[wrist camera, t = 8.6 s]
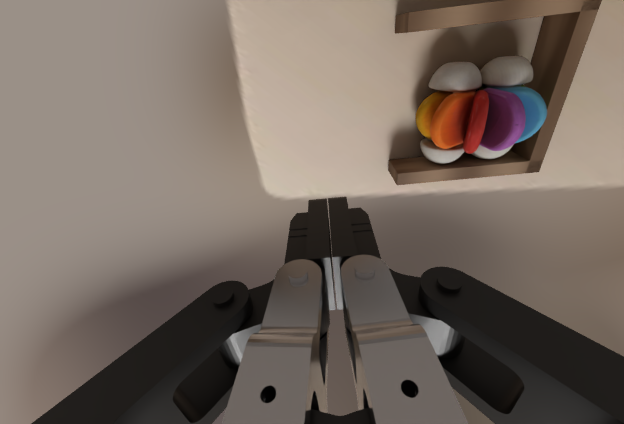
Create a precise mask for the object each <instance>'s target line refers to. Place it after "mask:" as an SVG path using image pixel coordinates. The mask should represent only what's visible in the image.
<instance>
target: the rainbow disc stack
mask: <svg viewBox="0 0 624 424" xmlns="http://www.w3.org/2000/svg"><path fill="white" fill-rule="evenodd" d="M532 79H533V68H532V66H531V64H530V62H529V61H528V60H527V59H526V58H524V57H522V56H503V57H497V58H494V59H493V60H491V61H490V62H488V63H487V64H486V65H485V66H484V67H483V68H482V69H481V70H480V71H479V69H478V68H477V67H476V66H475V65H474V64H473V63H471V62H450V63H446V64H444V65H442V66H441V67H440V68H439V69H438V70H437V71H436V72H435V73H434V74H433V76H432V78H431V80H430V82H429V87H430V88H432V89H435V90H441V91H436V92H434V93H433V94H431V95H430V96H428V97H427V98H426V99H425V100H424V101H423V102H422V103H421V104H420V106H419V108H418V110H417V112H416V124H417V127H418V129H419V131H420V132H421V133H422V134H423V135H424V136H425V137H426V138H424V139H422V141H421V143H420V146H421V150H422V153H423V155H424V156H425V157H426V158H427V159H428V160H430V161H432V162H434V163H440V164H445V163H450V162H452V161H454V160H456V159H458V158H459V157H460V156H461V155H462V154H463V153H464V151H465V152H466V153H469V154H472V155H473V156H475V157H478V158H481V159H494V158H498V157H500V156H502V155H504V154H505V153H507V152H508V151H509V150H510V149H511V148H512V146H513V145H514V144H515V143H518V142H521V141H523V140H525V139H527V138H529V137H531V136H532V135H533V134H535V133H536V132H537V131H538V130H539V129H540V127H541V126H542V125H543V123H544V121H545V119H546V116H547V108H546V104H545V102H544V100H543V98H542V97H541V95H540V94H539V93H537V92H536V91H535V90H533V89H531V88H528V87H525V86H524V85H523V84H526V83H529V82H531V81H532ZM481 85H483V86H481ZM478 88H480V89H479V90H478V91H476V90H477V89H478Z"/></svg>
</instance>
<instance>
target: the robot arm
mask: <svg viewBox="0 0 624 424" xmlns="http://www.w3.org/2000/svg"><path fill="white" fill-rule="evenodd" d="M328 203H329V216H330V229H331V240H330V229H329V218H328V208H327V199H316V200H309V206H308V212H307V213H297V214H296V215H295V216H294V217H293V219H292V220H291V222H290V229H289V230H290V231H289V236H288V243H287V250H286V257H285V264H284V265H283V266H282V267H281V268H280V269H279V270H278V271H277V273H276V275H275V279H274V280H273V281H271V282H269V283H267V284H265V285H262V286H259V287H256V288H253V289H250V290H248V288H247V287H246V285H244V284H243V283H241V282H238V281H226V282H222V283H219V284H217V285H215V286H213V287H212V288H210V289H209V290H208V291H206V292H205V293H204V294H202V295H201V296H200V297H198V298H197V299H196V300H195V301H193V302H192V303H191V304H189V305H188V306H187V307H185V308H184V309H183V310H181V311H180V312H179V313H177V314H176V315H175V316H173V317H172V318H171V319H169V320H168V321H167V322H165V323H164V324H163V325H161V326H160V327H159V328H157V329H156V330H155V331H153V332H152V333H151V334H149V335H148V336H147V337H146V338H144V339H143V340H142V341H140V342H139V343H138V344H136V345H135V346H134V347H132V348H131V349H130V350H128V351H127V352H126V353H124V354H123V355H122V356H120V357H119V358H118V359H116V360H115V361H114V362H112V363H111V364H110V365H108V366H107V367H106V368H104V369H103V370H102V371H100V372H99V373H98V374H97V375H95V376H94V377H93V378H91V379H90V380H89V381H87V382H86V383H85V384H83V385H82V386H81V387H79V388H78V389H77V390H76V391H74V392H73V393H71V394H70V395H69V396H67V397H66V398H65V399H63V400H62V401H61V402H59V403H58V404H57V405H55V406H54V407H53V408H52V409H50V410H49V411H48V412H46V413H45V414H44V415H42V416H41V417H40V418H38V419H37V420H36V421H34V422H33V423H32V424H212V423H213V422H214V421H215V419H216V418H217V417H218V416H219V415H220V414H221V413H222V412H223V411H224V409H225V408H226V407H227V408H226V411H225V414H224V418H223V421H222V424H468V422H467V420H466V417H465V415H464V413H463V411H462V409H461V406H460V404H459V403H458V400H457V398H456V396H455V394H454V391H453V389H452V387H453V388H454V389H455V390H456V391H457V392H458V393H459V394H461V395H462V396H463V397H464V398H466V399H467V400H468V401H469V402H470V403H471V404H472V405H474V406H475V407H476V408H477V409H479V410H480V411H481V412H482V413H483V414H484V415H486V416H487V417H488V418H489V419H490V420H491V421H492V422H494V423H495V424H624V357H623V356H621V355H620V354H617V353H615V352H614V351H612V350H610V349H608V348H606V347H604V346H602V345H600V344H599V343H596V342H595V341H593V340H591V339H589V338H587V337H585V336H583V335H581V334H579V333H578V332H576V331H574V330H572V329H570V328H568V327H566V326H564V325H562V324H560V323H559V322H556V321H555V320H553V319H551V318H549V317H547V316H545V315H543V314H541V313H539V312H538V311H536V310H534V309H532V308H530V307H528V306H526V305H524V304H522V303H520V302H519V301H517V300H515V299H513V298H511V297H509V296H507V295H505V294H503V293H501V292H500V291H498V290H495V289H494V288H492V287H490V286H488V285H486V284H484V283H482V282H480V281H478V280H476V279H475V278H473V277H471V276H469V275H467V274H465V273H463V272H461V271H459V270H456V269H453V268H449V267H435V268H431V269H429V270H427V271H425V272H424V273H423V274H422V276H421V278H420V277H414V276H408V275H403V274H400V273H397V272H394V271H393V270H391V269H389V268H388V266H387V264H386V263H385V262H384V261H383V260H381V257H380V254H379V250H378V247H377V243H376V240H375V237H374V233H373V231H372V227H371V224H370V220H369V216H368V214H367V213H366V212H365V211H363V210H362V209H361V208H351V209H348V204H347V199H346V197H337V198H328ZM331 244H332V254H331ZM332 257H333V268H334V278H335V289H336V299H337V309H343V311H344V320H345V333H346V338H347V343H348V349H349V355H350V360H351V365H352V371H353V376H354V382H355V387H356V393H357V401H358V409H359V411H356V412H353V413H350V414H347V415H344V416H335V415H331V414H328V413H327V370H328V346H329V324H330V318H329V310H335V297H334V282H333V268H332Z"/></svg>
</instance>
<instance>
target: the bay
mask: <svg viewBox="0 0 624 424" xmlns="http://www.w3.org/2000/svg"><path fill="white" fill-rule="evenodd" d="M601 1H602V0H502V1H494V2H486V3H478V4H470V5H462V6H455V7H447V8H439V9H431V10H423V11H415V12H408V13H404V14H400V15H397V16H396V24H395V33H408V32H416V31H424V30H432V29H441V28H449V27H457V26H465V25H474V24H482V23H490V22H498V21H507V20H515V19H523V18H531V17H539V16H544V19H543V23H542V26H541V30H540V33H539V37H538V40H537V44H536V47H535V51H534V54H533V58H532V61H531V66H532V68H533V79H532V81H531V82H529V83H526V84H525V87H528V88H531V89H533V90H535V91H536V92H537V93H539V94H540V95H541V97H542V98H543V100H544V102H545V104H546V108H547V116H546V119H545V121H544V123H543V125H542V126H541V127H540V129H539V130H538V131H537V132H536V133H535V134H533V135H532V136H531V137H529V138H527V139H525V140H523V141H521V142H518V143H515V144H514V145H513V146H512V148H511V149H510V150H509V151H508V152H507V153H505V154H504V155H502V156H500V157H498V158H494V159H481V158H478V157H475V156H473V155H472V154H469V153H466V152H465V153H463V154H462V155H461V156H460V157H459V158H458V159H456V160H454V161H452V162H450V163H445V164H440V163H434V162H432V161H430V160H428V159H427V158H426V157H425V156H424V157H413V158H403V159H393V160H389V167H388V171H389V172H390V174H391V176H392V177H393V179H394V181H395V183H396V184H397V185H404V184H415V183H426V182H436V181H447V180H458V179H469V178H479V177H490V176H501V175H511V174H522V173H533V172H539V170H540V168H541V165H542V162H543V159H544V157H545V154H546V151H547V148H548V146H549V143H550V140H551V138H552V135H553V132H554V129H555V127H556V124H557V121H558V118H559V116H560V113H561V110H562V107H563V105H564V102H565V99H566V97H567V94H568V91H569V88H570V86H571V83H572V80H573V77H574V75H575V72H576V69H577V67H578V64H579V61H580V58H581V56H582V53H583V50H584V47H585V45H586V42H587V39H588V36H589V34H590V31H591V28H592V26H593V23H594V20H595V17H596V15H597V12H598V9H599V6H600V4H601Z"/></svg>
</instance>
